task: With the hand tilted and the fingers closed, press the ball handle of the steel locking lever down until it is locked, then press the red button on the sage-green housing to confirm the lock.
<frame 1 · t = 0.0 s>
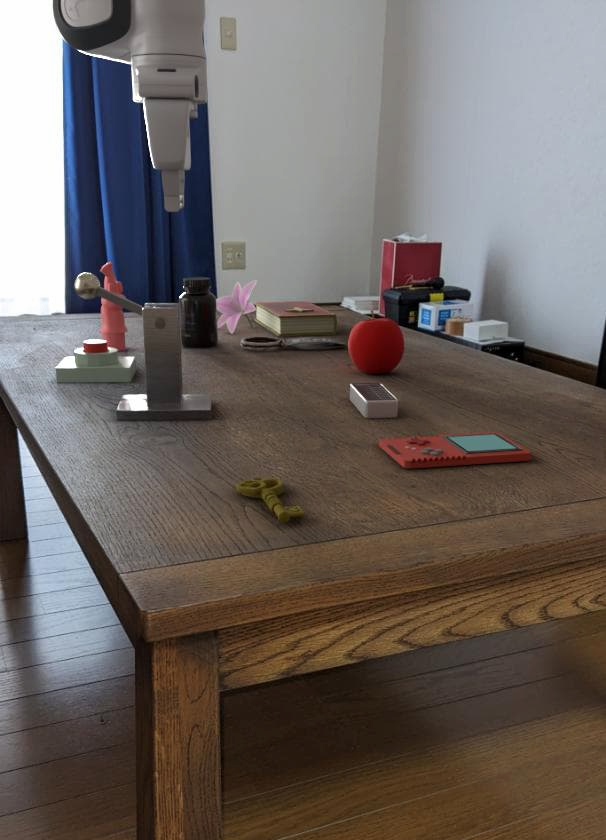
hand: (175, 210, 112), 25 cm above the table, tool pointing down, fingers open, 8 cm apart
book: (293, 328, 187), on the table
confirm button: (95, 347, 138), point 4 cm above the table, slide at 0.1 cm
handheld gaming console: (453, 455, 103), on the table
figurine: (114, 350, 161), on the table
fruit: (374, 373, 145), on the table
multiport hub: (372, 409, 123), on the table
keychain: (292, 349, 165), on the table
lock lever: (124, 302, 114), point 14 cm above the table, hinge at 25.0°
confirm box: (97, 376, 140), on the table
supplement bottle: (199, 346, 166), on the table
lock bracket: (166, 411, 120), on the table
lily: (236, 330, 183), on the table
key: (267, 506, 87), on the table
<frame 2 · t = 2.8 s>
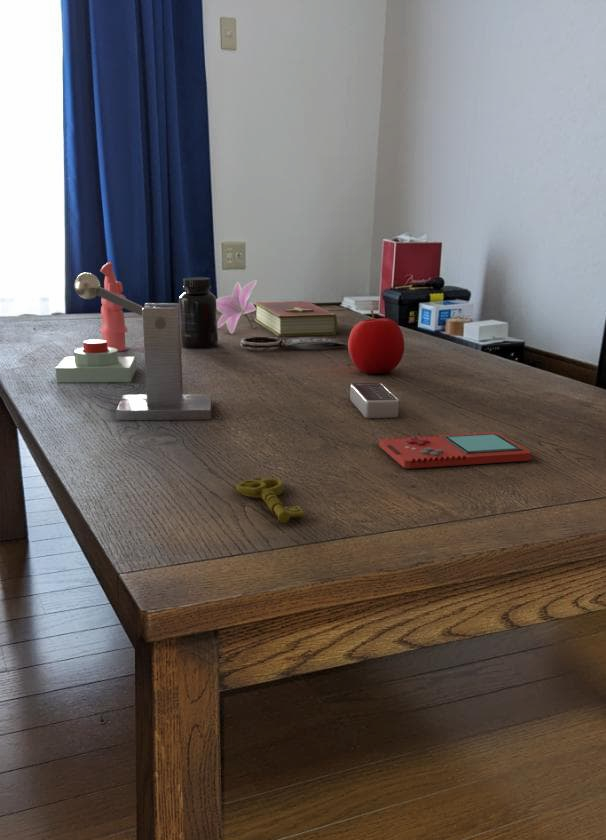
nothing on the table moved.
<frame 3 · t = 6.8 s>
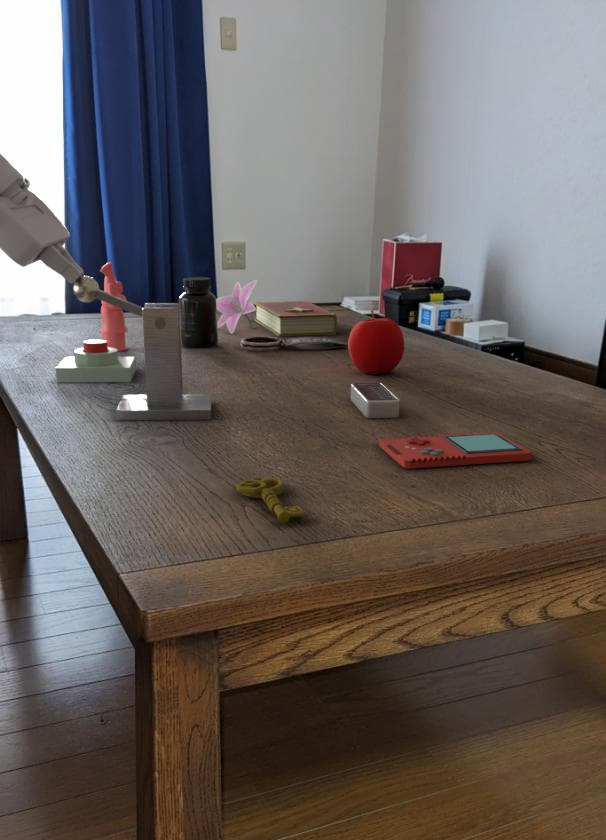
hand: (78, 278, 112), 17 cm above the table, tool tilted 45°, fingers closed
lock lever: (123, 304, 114), point 14 cm above the table, hinge at 22.4°, touching gripper
everything else where it was.
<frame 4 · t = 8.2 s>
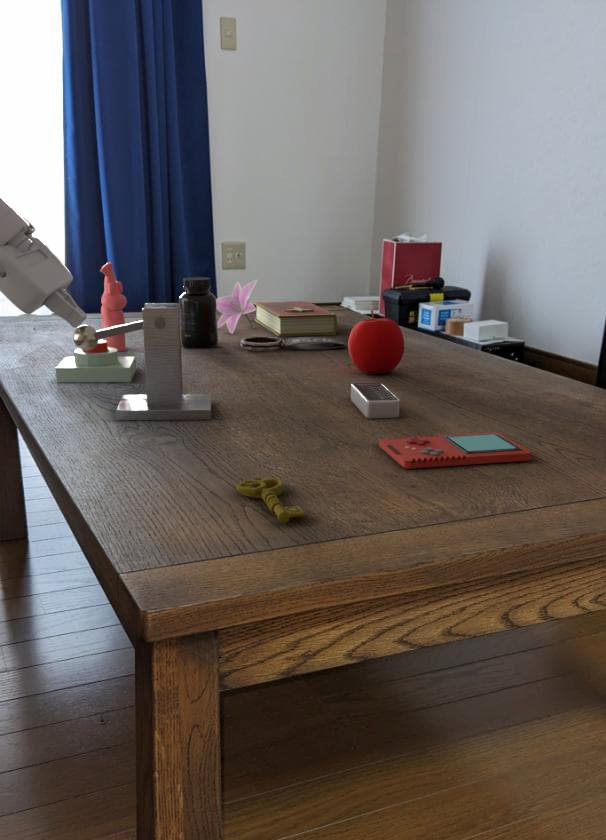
hand: (81, 322, 114), 12 cm above the table, tool tilted 45°, fingers closed
lock lever: (123, 329, 115), point 11 cm above the table, hinge at -13.0°, touching gripper
everything else where it was.
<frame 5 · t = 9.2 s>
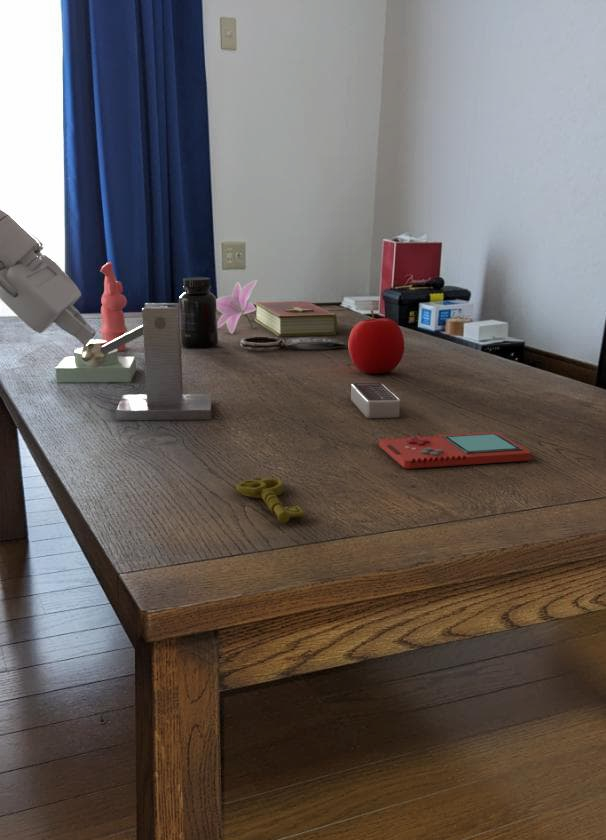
hand: (91, 339, 115), 10 cm above the table, tool tilted 45°, fingers closed
lock lever: (126, 338, 116), point 10 cm above the table, hinge at -26.7°
everything else where it was.
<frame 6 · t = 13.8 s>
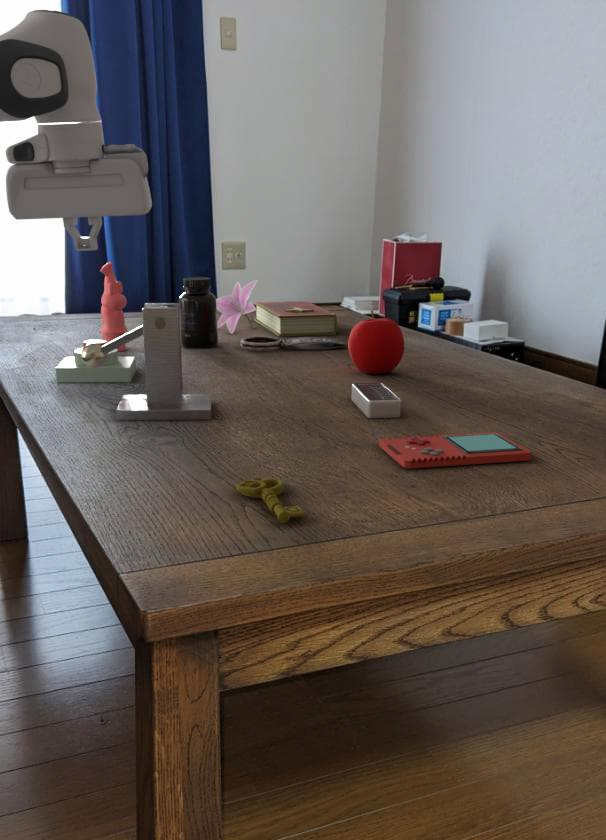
hand: (86, 250, 130), 19 cm above the table, tool pointing down, fingers closed
nothing on the table moved.
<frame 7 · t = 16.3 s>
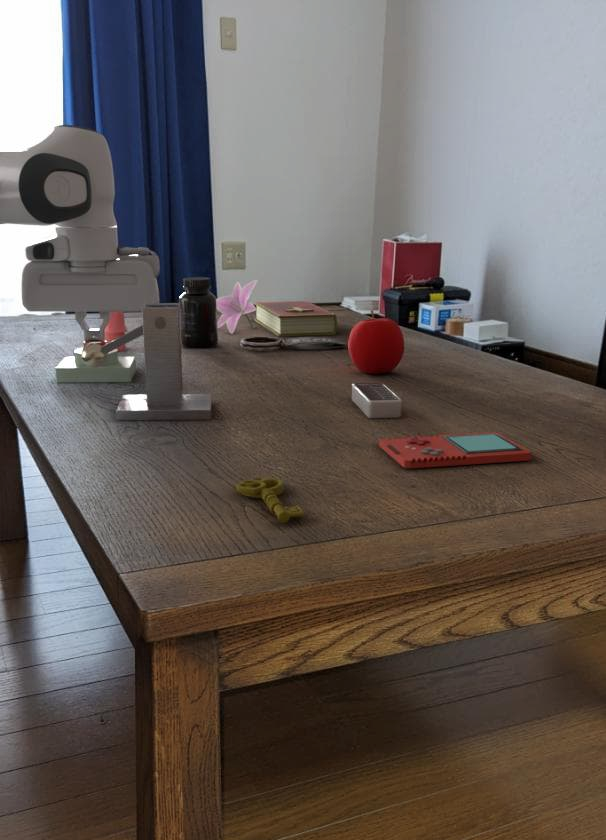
hand: (95, 341, 138), 5 cm above the table, tool pointing down, fingers closed, pressing on confirm button
confirm button: (95, 347, 138), point 4 cm above the table, slide at 0.1 cm, touching gripper
everything else where it was.
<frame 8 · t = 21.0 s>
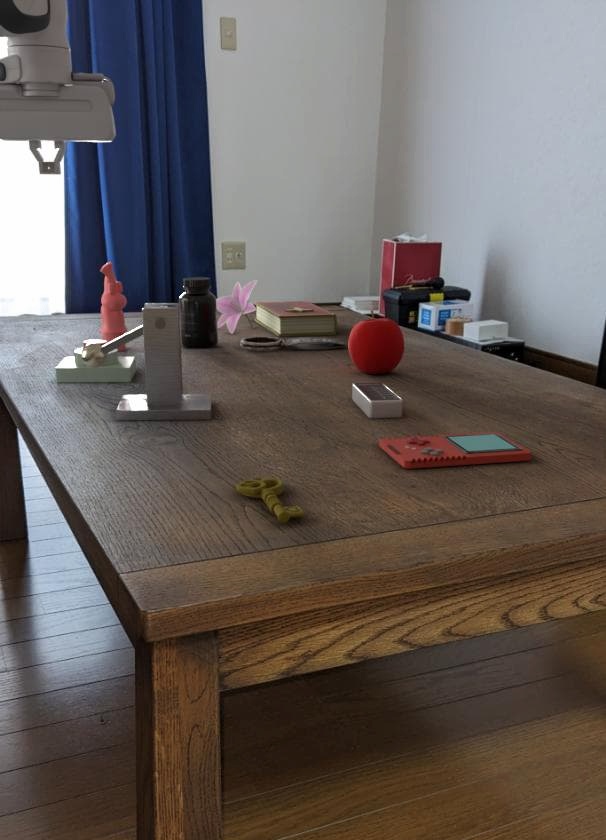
hand: (50, 174, 136), 29 cm above the table, tool pointing down, fingers closed
confirm button: (95, 347, 138), point 4 cm above the table, slide at 0.1 cm
everything else where it was.
at the end: lock lever at -27° (first picture: +25°); confirm button pushed in 1.1 cm at the most during the clip, back to where it started at the end; confirm button slide at 0.1 cm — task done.
